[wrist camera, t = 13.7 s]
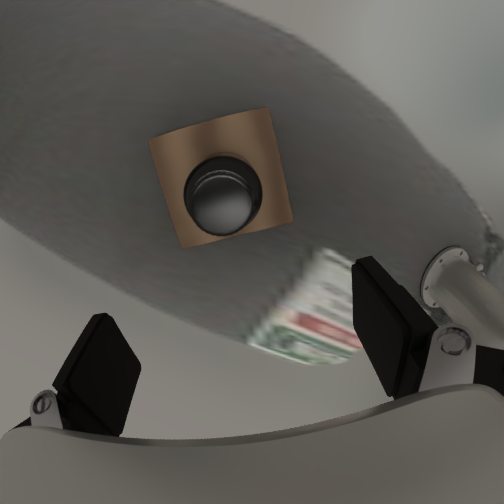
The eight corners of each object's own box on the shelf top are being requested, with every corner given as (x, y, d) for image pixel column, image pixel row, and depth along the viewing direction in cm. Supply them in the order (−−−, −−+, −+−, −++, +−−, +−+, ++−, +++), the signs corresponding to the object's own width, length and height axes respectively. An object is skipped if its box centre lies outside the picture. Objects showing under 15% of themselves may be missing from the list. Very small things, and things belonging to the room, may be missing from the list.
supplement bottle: (257, 207, 32) (268, 249, 21) (198, 211, 32) (179, 254, 21) (254, 148, 29) (266, 157, 18) (193, 152, 29) (168, 164, 18)
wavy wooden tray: (265, 109, 30) (268, 106, 27) (289, 215, 36) (293, 222, 33) (154, 139, 30) (147, 140, 28) (186, 240, 36) (182, 249, 33)
